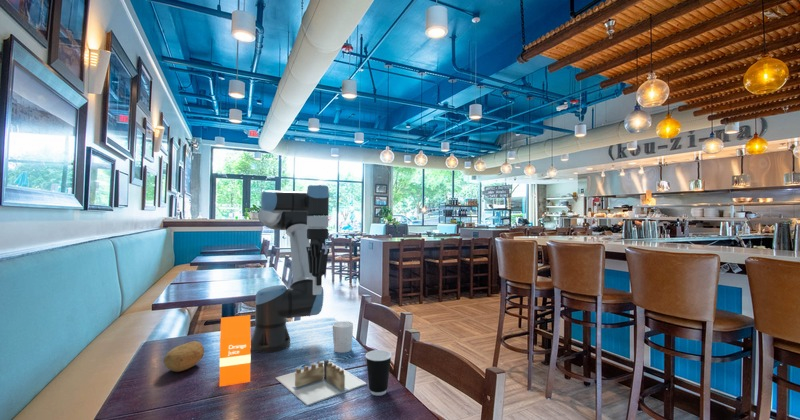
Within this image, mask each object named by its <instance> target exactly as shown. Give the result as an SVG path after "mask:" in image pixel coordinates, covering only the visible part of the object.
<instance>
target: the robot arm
mask: <svg viewBox="0 0 800 420" xmlns="http://www.w3.org/2000/svg"><path fill="white" fill-rule="evenodd" d="M260 196H261V197H260V207H261V208H260V209H259V211H258V214H257V216H258V220H259V222H260V224H261V225H263V226H264V227H265V228H267V229H271V230H275V231H285V234H286V235H287V236H288V237H289V242H290V243H289V244H290V245H289V246H290V257H291V258H290V259H291V269H292V270H291V271H292V279H293V280H292V282H291V284H290V286H289V288H288V287H287V286H286V285H282V284H281V285H279V284H278V285H271V286H267V287H263V288H261V289H259V290H258V291H257V292H256V294H255V302H254V304H255V314H254V315H255V318H254V319H255V322H254V323H255V325H254V330H253V333H252V336H251V348H250V351H253V352H255V353H274V352H279V351H282V350H284V349H285V350H286V348H287V349H288V347H289V346H290V345H291V337H290V334H289V330H288V327H287V319H292V318H293V319H294V318H301V317H312V316H317V315H320V313H321V312H322V310H323V305H324V304H323V303H324V296H325V295H324V287H323V286H322V284H323V283H322V279H323V276H325V275H326V272H327V265H328V256H329V253H330V248H327V247H326V245H327V244H326V240H327V239H329V228H328V227H329V221H330V219H329V211H330V210H329V208H330V207H329V205H330V204H329V202H330V197H329V196H330V192H329V186H328V185H325V184H309V185H308V186H307V191H289V190H288V191H287V190H286V191H284V190H273V189H271V190H263V191H262V192H261V195H260Z"/></svg>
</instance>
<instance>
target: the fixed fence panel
mask: <svg viewBox="0 0 800 420" xmlns="http://www.w3.org/2000/svg"><path fill="white" fill-rule="evenodd" d="M329 362H330V363H329ZM331 362H332V361H329V360H328V359H325V360H323V364H324V379H326V380H327V381H328V382H330V383H331V384H333V385H334V386H336V387H337V388H338V389H340V390H344V389H345V375H344V370H345V369H344V368H342V370H340V368H339V367H340V366H339V367H337V368H336V365H337V364H336V365H332V363H333V362H332V363H331ZM343 369H344V370H343Z"/></svg>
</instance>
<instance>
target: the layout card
mask: <svg viewBox="0 0 800 420" xmlns="http://www.w3.org/2000/svg"><path fill="white" fill-rule="evenodd" d="M330 362H331V363H332V365H336V368H337V367H339V368H340V370H342V369H343V370H344V375H345V389H344V390H340V389H338V388H337V387H336V386H334V385H333V384H331V383H330V382H328V381H327V380H326V379H322V380H319V381H316V382H313V383H309V384H306V385H303V386H300V387H296V386H295V373H296V371H292V372H290V373H287V374H283V375H280V376H276V377H275V380H277V381H278V382H279V383H280V384H282V385H283V386H284V387H285V388H286V389H287V390H288V391H289V392H290V393H292V394H293V395H294V396H295V397H296V398H298V400H300V401H301V402H302V403H303V404H304V405H306V406H307V407H309V406H311V405H315V404H317V403H319V402H322V401H325V400H328V399H330V398H333V397H336V396H339V395H341V394H344V393H348V392H350V391H352V390H356V389H358V388H361V387H363V386H367V382H365V381H364V380H362V379H361V378H359V377H357V376H356V375H354V374H352V373H351V372H349V371H347V370H345V369H344V368H342V367H341V366H339V365H338V364H335V363H334V362H332V361H329V363H330ZM317 366H318V365H317V364H316V367H317ZM323 366H324V363H323ZM310 368H311V366H310V367H308V369H310ZM303 370H304V368H303V369H301V371H303Z"/></svg>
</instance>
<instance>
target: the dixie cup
mask: <svg viewBox="0 0 800 420" xmlns="http://www.w3.org/2000/svg"><path fill="white" fill-rule="evenodd" d="M364 356H365V359H366V369H367V377H368V378H367V379H368V380H367V381H368V388H369V391H370V394H371V395H373V396H383V395H386V394H387V390H388V386H389V385H388V384H389V376H390V368H391V360H392V356H393V355H392V353H391V352H390V351H388V350H384V349H375V350H374V349H373V350H370V351H367V352H366V354H365V355H364Z"/></svg>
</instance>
